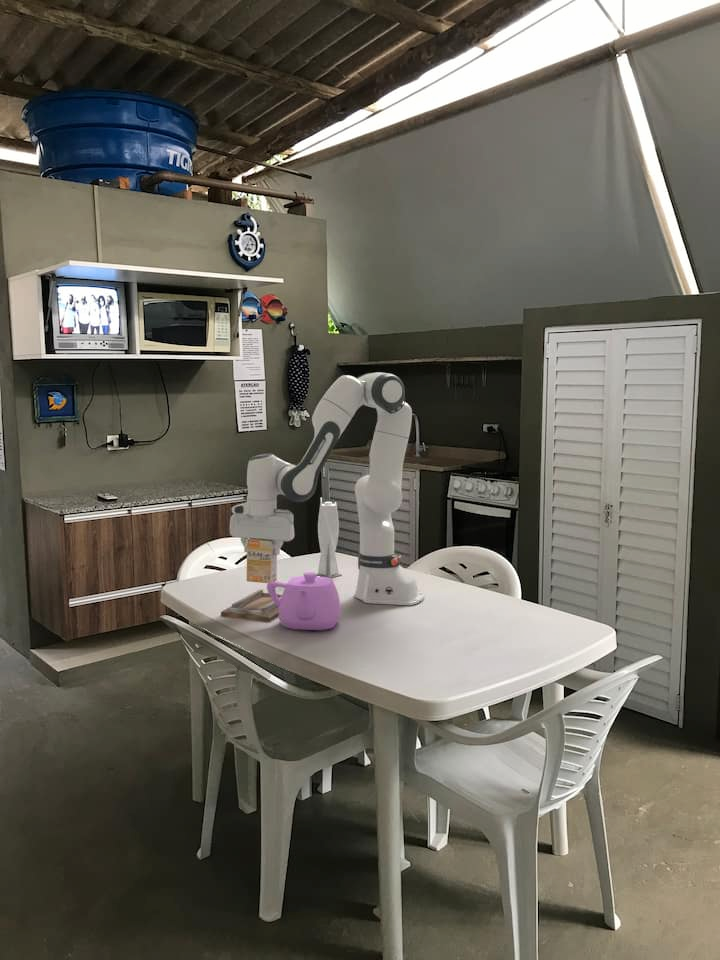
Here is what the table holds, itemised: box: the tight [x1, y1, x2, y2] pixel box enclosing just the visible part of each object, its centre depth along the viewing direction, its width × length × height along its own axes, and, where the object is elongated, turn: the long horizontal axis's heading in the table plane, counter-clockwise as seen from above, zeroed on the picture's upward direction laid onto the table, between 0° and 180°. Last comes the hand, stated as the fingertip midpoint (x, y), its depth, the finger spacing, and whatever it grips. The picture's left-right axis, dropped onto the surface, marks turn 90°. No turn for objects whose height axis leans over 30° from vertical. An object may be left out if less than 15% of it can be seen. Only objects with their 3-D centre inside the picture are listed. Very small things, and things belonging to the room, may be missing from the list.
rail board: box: [220, 589, 283, 623], centre depth 234 cm, size 16×22×3 cm
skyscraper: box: [316, 497, 343, 579], centre depth 275 cm, size 8×8×28 cm
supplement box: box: [246, 538, 278, 584], centre depth 233 cm, size 8×5×13 cm, turn 73°
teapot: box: [266, 571, 342, 632], centre depth 215 cm, size 23×21×15 cm
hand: (261, 553), depth 232 cm, fingers closed on supplement box, 8 cm apart
